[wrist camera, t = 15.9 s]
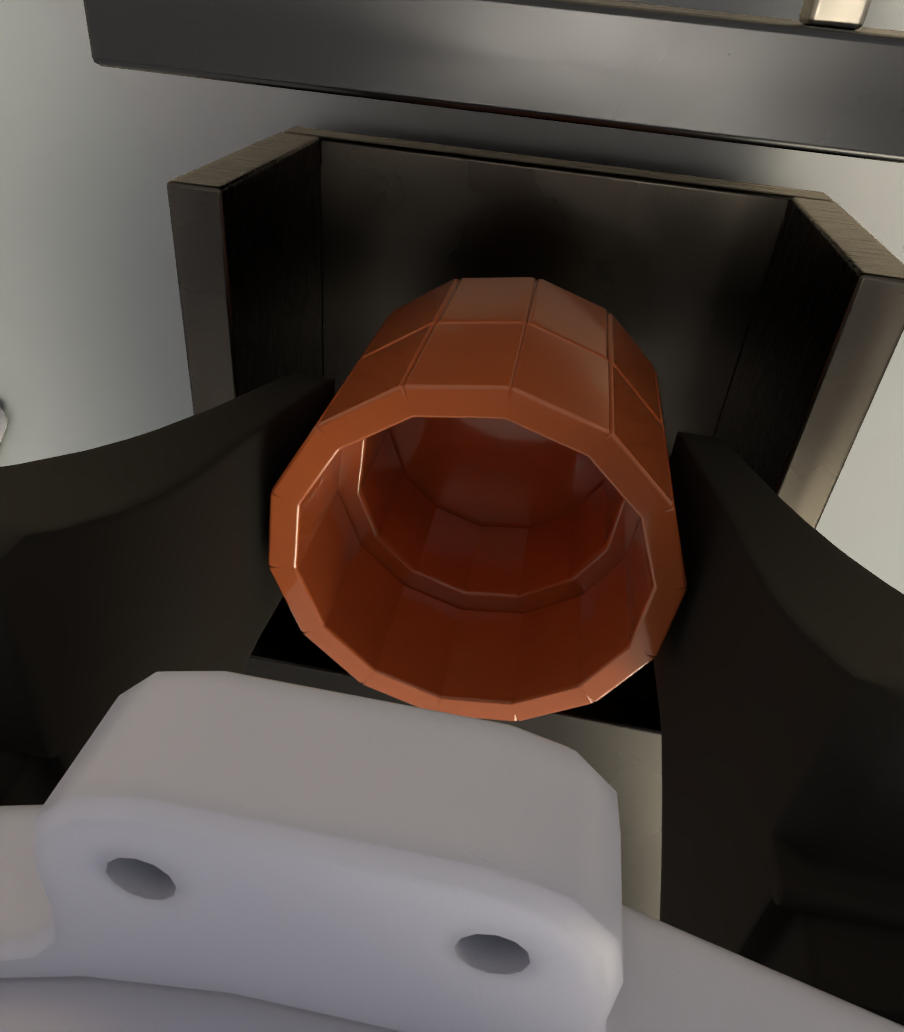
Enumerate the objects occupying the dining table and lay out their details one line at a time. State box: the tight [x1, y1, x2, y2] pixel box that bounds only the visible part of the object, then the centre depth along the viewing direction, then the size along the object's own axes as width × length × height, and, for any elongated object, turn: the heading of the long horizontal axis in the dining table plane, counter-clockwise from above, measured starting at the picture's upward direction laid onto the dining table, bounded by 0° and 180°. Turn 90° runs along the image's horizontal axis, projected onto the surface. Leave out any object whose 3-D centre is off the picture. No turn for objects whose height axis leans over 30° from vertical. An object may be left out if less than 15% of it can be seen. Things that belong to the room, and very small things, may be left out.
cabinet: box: [242, 628, 662, 921], centre depth 21 cm, size 14×13×8 cm
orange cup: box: [268, 277, 687, 721], centre depth 11 cm, size 5×5×4 cm
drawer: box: [83, 0, 904, 700], centre depth 13 cm, size 19×11×6 cm, turn 175°
